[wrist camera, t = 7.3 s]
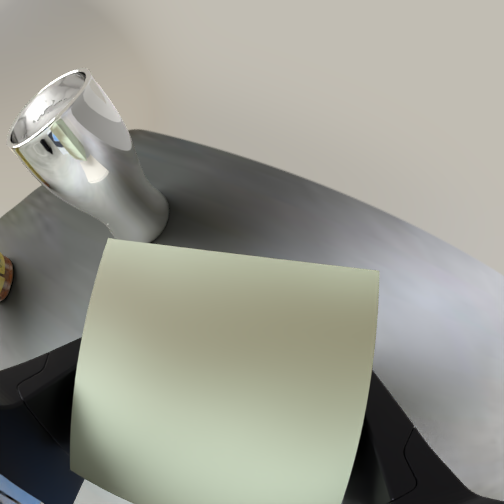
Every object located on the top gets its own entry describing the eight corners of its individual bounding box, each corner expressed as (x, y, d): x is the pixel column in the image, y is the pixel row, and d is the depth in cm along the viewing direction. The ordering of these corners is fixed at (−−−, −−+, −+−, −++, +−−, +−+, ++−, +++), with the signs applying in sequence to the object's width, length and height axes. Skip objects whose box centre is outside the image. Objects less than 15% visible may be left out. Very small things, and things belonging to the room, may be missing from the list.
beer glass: (121, 188, 27) (40, 83, 13) (181, 186, 26) (112, 53, 12) (101, 250, 24) (-11, 160, 10) (165, 255, 23) (53, 137, 9)
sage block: (300, 434, 12) (326, 541, 3) (189, 415, 13) (70, 470, 4) (317, 327, 14) (379, 270, 5) (208, 312, 15) (108, 238, 6)
